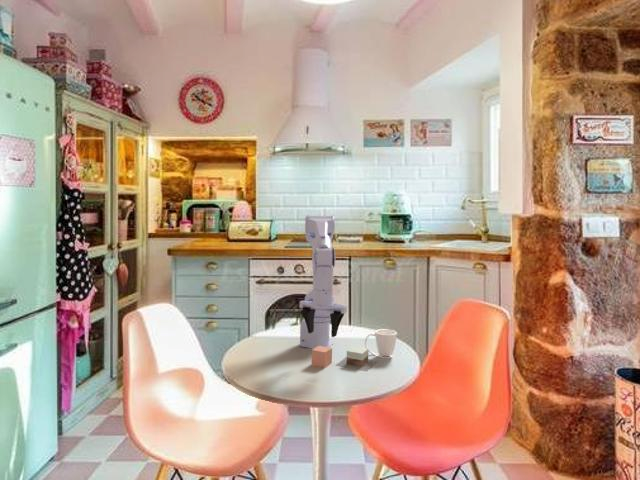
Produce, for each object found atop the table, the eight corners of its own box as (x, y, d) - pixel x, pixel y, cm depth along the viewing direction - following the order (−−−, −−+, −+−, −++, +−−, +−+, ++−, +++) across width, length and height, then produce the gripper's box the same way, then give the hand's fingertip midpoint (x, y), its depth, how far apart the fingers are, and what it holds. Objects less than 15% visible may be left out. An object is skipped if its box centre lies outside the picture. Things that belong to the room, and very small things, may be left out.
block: (311, 366, 141) (311, 349, 140) (318, 361, 145) (318, 345, 144) (325, 369, 139) (325, 352, 138) (331, 364, 143) (332, 348, 142)
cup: (395, 361, 146) (396, 335, 145) (363, 358, 148) (363, 333, 147) (397, 354, 152) (398, 329, 152) (366, 351, 155) (367, 327, 154)
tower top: (346, 357, 142) (346, 351, 141) (353, 352, 146) (353, 346, 146) (362, 360, 139) (362, 353, 139) (368, 355, 144) (368, 348, 144)
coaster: (335, 366, 141) (335, 365, 141) (348, 356, 150) (348, 355, 150) (367, 372, 136) (367, 371, 136) (378, 361, 145) (378, 360, 145)
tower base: (346, 364, 142) (346, 357, 142) (352, 359, 146) (353, 352, 146) (362, 366, 140) (362, 360, 139) (368, 361, 144) (368, 355, 144)
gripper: (294, 288, 139) (294, 334, 140) (340, 293, 133) (339, 341, 134) (306, 285, 145) (305, 328, 147) (349, 289, 139) (348, 335, 140)
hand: (322, 334), depth 141 cm, fingers open, 7 cm apart
